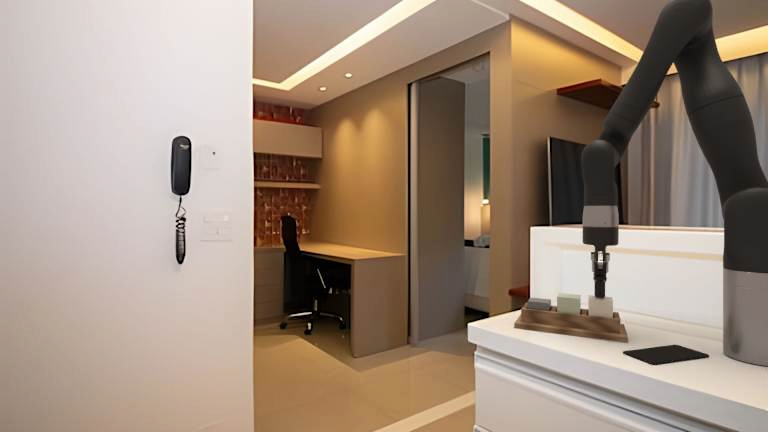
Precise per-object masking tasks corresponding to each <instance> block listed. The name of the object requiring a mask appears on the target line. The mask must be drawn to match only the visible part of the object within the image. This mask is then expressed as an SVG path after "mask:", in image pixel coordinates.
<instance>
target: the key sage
mask: <svg viewBox="0 0 768 432" xmlns="http://www.w3.org/2000/svg"><path fill="white" fill-rule="evenodd" d="M556 306H557V312H561V313H571V314H581V309H582V308H581V307H582V305H581V294H573V293H561V292H559V293H558V294H557V296H556Z"/></svg>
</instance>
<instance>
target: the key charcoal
mask: <svg viewBox="0 0 768 432" xmlns="http://www.w3.org/2000/svg"><path fill="white" fill-rule="evenodd" d="M527 303H528V309H534V310H543V311H551V306H552V299H549V298H537V297H529V298H528V300H527Z"/></svg>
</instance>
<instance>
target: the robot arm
mask: <svg viewBox="0 0 768 432" xmlns="http://www.w3.org/2000/svg"><path fill="white" fill-rule="evenodd" d="M673 65H674V67H675V70H676V71H677V74H678V77H679V82H680V90H681V95H682V101H683V104H684V108H685V113H686V115H687V118H688V121H689V124H690V126H691V130H692V132H693V134H694V137H695V139H696V142H697V145H698V146H699V148H700V150H701V152H702V154H703V156H704V158H705V160H706V162H707V164H708V166H709V167H710V169H711V171H712V174H713V177H714V180H715V184H716V188H717V193H718V198H719V202H720V203H719V204H720V207H721V215H722V218H723V255H722V332H723V333H722V352H723V354H724V355H725V356H728V357H729V358H732V359H734V360H736V361H737V360H738V361H741V362H745V363H749V364H753V365H759V366H766V367H768V179H767V176H766V174H765V172H764V171H763V169H762V166H761V163H760V160H759V155H758V146H757V138H756V129H755V126H754V121H753V117H752V114H751V111H750V107H749V104H748V101H747V100H746V97H745V95H744V93H743V91H742V89H741V86H740V84H739V83H738V82H737V80H736V79H735V77H734V75H733V74H732V73H731V70H729V69H728V67H727V66H726V65H725V63H724V61H723V60H722V58H721V56H720V52H719V51H718V46H717V42H716V38H715V34H714V26H713V5H712V2H711V0H669V1H668V2H666V4H665V5H664V6H663V7H662V9H661V11H660V13H659V14H658V17H657V20H656V22H655V25H654V27H653V29H652V32H651V35H650V37H649V39H648V42H647V44H646V45H645V48H644V50H643V52H642V55H641V57H640V59H639V61H638V62H637V64H636V66H635V68H634V69H633V71H632V74H631V75H630V77H629V79H628V80H627V82H626V84H625V86H624V87H623V89H622V90H621V92H620V93H619V95H618V97H617V99H616V100H615V102H614V103H613V105H612V106H611V109H610V110H609V112H608V114H606V117H605V119H604V122H603V129H602V131H601V133H600V135H599V137H598V139H596V140H592V141H590V142H588V143H587V144H586V146H584V148H583V150H582V152H581V156H580V157H581V159H580V160H581V161H580V164H581V171H582V178H583V180H582V181H583V185H584V189H583V190H584V191H583V213H582V243H583V244H584V245H585V246H593V247H594V251H590V260H591V271H592V273H593V278H592V279H593V282H594V296H595V297H596V298H605V297H606V283H607V279H608V277H607V274H608V273H609V261H610V260H611V253H610V252H607V247H609V246H610V247H614V246H617V245H619V235H620V234H619V233H620V232H619V225H620V224H619V222H620V220H619V209H618V202H619V200H618V196H619V195H618V186H617V183H616V180H615V168H616V166H617V165H619V163H620V161H621V160H622V158H623V156H624V154H625V152H627V151H626V150H627V148H628V146H629V145H630V142H631V139H632V138H633V135H634V133H636V132H637V130H638V128H639V127H640V125H641V124H642V122H643V121H644V119H645V117H646V116H647V114H648V112H649V111H650V109H651V108H652V106H653V104H654V102H655V100H656V98H657V96H658V93H659V91H660V89H661V87H662V85H663V82H664V80H665V78H666V77H667V75H668V72H669V71H670V69H671V68H672V66H673Z"/></svg>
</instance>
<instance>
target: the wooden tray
mask: <svg viewBox="0 0 768 432" xmlns="http://www.w3.org/2000/svg"><path fill="white" fill-rule="evenodd" d="M513 325H514V327H513V328H515V329H519V330H520V329H521V330H528V331H535V332H541V333H542V332H544V333H552V334H559V335H563V336H564V335H565V336H574V337H580V338H588V339H595V340H604V341H611V342H619V343H625V344H628V343H629V337H628V333H627V329H626V327H625V326H626V325H625V323H621V316H620V313H619V311H617V312H616V311H613V318H607V317H598V316H589V315H588V308H581V314H571V313H561V312H557V305H551V311H543V310H534V309H528V302H525V304H524V305H523V306H521V309H520V315H519V316H518V317H517V319H516V320H515V322H514V323H513Z"/></svg>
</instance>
